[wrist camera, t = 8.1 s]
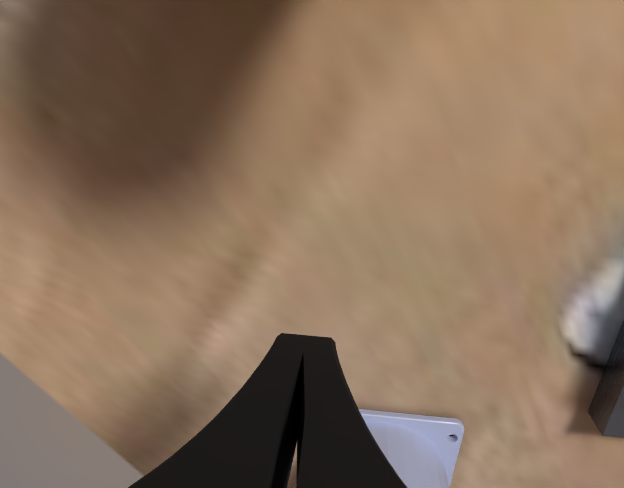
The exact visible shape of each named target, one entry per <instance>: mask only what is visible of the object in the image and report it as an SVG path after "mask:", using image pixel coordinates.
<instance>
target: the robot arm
mask: <svg viewBox="0 0 624 488" xmlns="http://www.w3.org/2000/svg"><path fill="white" fill-rule="evenodd" d="M453 434H454V436H449V435H453ZM463 434H464V426H463V423H462V422H461V421H460V420H459V419H455V418H445V417H435V416H425V415H415V414H404V413H394V412H384V411H374V410H364V409H358V407H357V405H356V403H355V401H354V399H353V396H352V394H351V392H350V389H349V387H348V385H347V382H346V380H345V377H344V374H343V371H342V368H341V365H340V362H339V359H338V355H337V351H336V345H335V342H334V340H333V339H332V338H328V337H317V336H307V335H296V334H285V333H281V334H280V335H279V336H277V338H276V340H275V342H274V343H273V345H272V347H271V348H270V350H269V352H268V353H267V355H266V356H265V358H264V359H263V360H262V362H261V363H260V365H259V366H258V367H257V369H256V370H255V371H254V373H253V374H252V375H251V377H250V378H249V379H248V380H247V382H246V383H245V384H244V386H243V387H242V388H241V389H240V390H239V391H238V393H237V394H236V395H235V396H234V397H233V398H232V399H231V400H230V402H229V403H228V404H227V405H226V406H225V407H224V408H223V409H222V410H221V411H220V412H219V414H218V415H217V416H216V417H215V418H214V419H213V420H212V421H211V422H210V423H209V424H208V425H206V426H205V427H204V428H203V429H202V430H201V431H200V432H199V433H198V434H197V435H196V436H195V437H193V438H192V439H191V440H190V441H189V442H188V443H186V444H185V445H184V446H183V447H182V448H181V449H179V450H178V451H177V452H176V453H175V454H173V455H172V456H171V457H170V458H168V459H167V460H166V461H165V462H163V463H162V464H161V465H159V466H158V467H157V468H155V469H154V470H153V471H151V472H150V473H148V474H147V475H145V476H144V477H143V478H141V479H140V480H138V481H137V482H135V483H134V484H132V485H131V486H130V487H128V488H287V485H288V480H289V475H290V471H291V466H292V462H293V457H294V452H295V448H296V443H297V488H450V484H451V480H452V476H453V472H454V468H455V464H456V461H457V457H458V453H459V449H460V445H461V441H462V437H463Z"/></svg>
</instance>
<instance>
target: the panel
mask: <svg viewBox="0 0 624 488" xmlns="http://www.w3.org/2000/svg"><path fill="white" fill-rule="evenodd" d="M588 413H589V415H590V416H591V418H592V419H593V421H594V423H595V424H596V426H597V427H598V429H599V431H600V432H601V434H602V435H603V436H612V437H622V438H624V323H623V325H622V328H621V330H620V333H619V335H618V338H617V341H616V343H615V346H614V348H613V351H612V353H611V356H610V358H609V361H608V363H607V366H606V369H605V371H604V374H603V376H602V379H601V381H600V384H599V386H598V389H597V391H596V394H595V397H594V399H593V402H592V404H591V407H590V409H589V412H588Z"/></svg>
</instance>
